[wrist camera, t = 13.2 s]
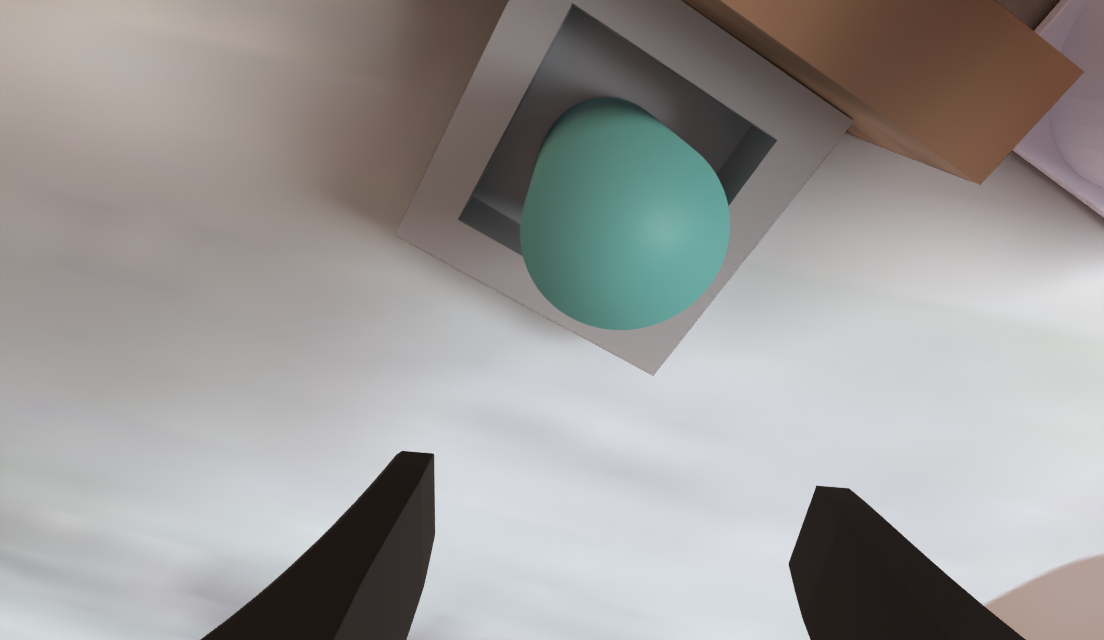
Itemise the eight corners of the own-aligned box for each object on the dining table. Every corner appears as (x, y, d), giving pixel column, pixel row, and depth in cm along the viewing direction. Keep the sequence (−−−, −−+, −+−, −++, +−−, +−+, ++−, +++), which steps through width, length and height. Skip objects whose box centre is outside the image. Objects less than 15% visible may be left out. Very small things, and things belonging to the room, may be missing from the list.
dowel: (686, 209, 18) (749, 296, 12) (563, 249, 19) (559, 353, 12) (651, 76, 17) (702, 94, 10) (518, 125, 17) (488, 170, 11)
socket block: (804, 104, 18) (853, 121, 15) (641, 324, 21) (653, 375, 18) (557, -67, 16) (552, -90, 13) (424, 202, 19) (394, 235, 16)
